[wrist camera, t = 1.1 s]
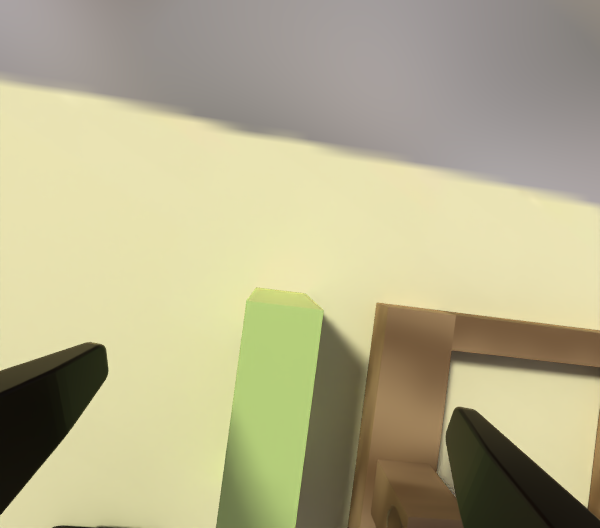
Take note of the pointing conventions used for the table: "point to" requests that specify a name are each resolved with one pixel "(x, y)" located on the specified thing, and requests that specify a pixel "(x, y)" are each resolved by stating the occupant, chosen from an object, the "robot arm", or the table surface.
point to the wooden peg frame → (436, 406)
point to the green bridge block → (270, 411)
